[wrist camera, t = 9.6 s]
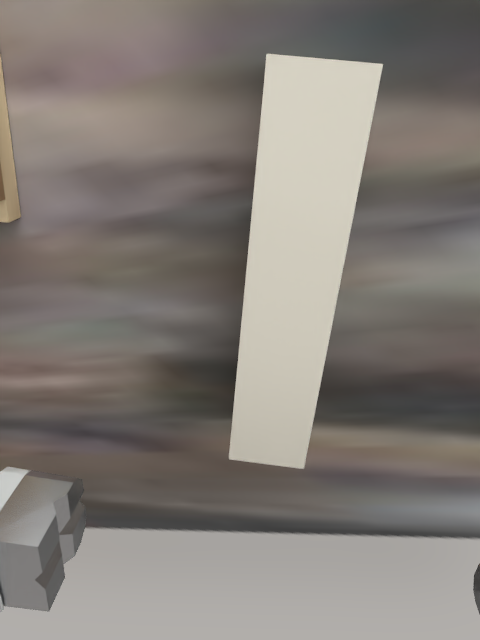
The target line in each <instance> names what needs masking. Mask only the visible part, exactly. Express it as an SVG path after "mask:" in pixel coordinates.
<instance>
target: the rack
mask: <svg viewBox="0 0 480 640" xmlns="http://www.w3.org/2000/svg"><path fill="white" fill-rule="evenodd" d="M20 217H21V213H20V205H19V198H18V190H17V182H16V174H15V166H14V158H13V150H12V142H11V134H10V126H9V118H8V110H7V102H6V95H5V87H4V79H3V71H2V63H1V55H0V222H7V223H9V222H11V221H14V220H16V219H18V218H20Z"/></svg>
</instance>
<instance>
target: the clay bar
mask: <svg viewBox="0 0 480 640" xmlns="http://www.w3.org/2000/svg"><path fill="white" fill-rule="evenodd" d="M382 67H383V64H376V63H365V62H354V61H342V60H331V59H320V58H309V57H297V56H286V55H275V54H267V56H266V67H265V77H264V88H263V99H262V109H261V120H260V131H259V141H258V152H257V163H256V173H255V184H254V195H253V205H252V216H251V227H250V237H249V248H248V259H247V269H246V280H245V291H244V301H243V312H242V323H241V333H240V344H239V355H238V365H237V376H236V387H235V397H234V408H233V419H232V429H231V440H230V450H229V459H231V460H239V461H247V462H254V463H262V464H269V465H277V466H285V467H292V468H300V469H304V465H305V460H306V455H307V450H308V445H309V440H310V435H311V430H312V424H313V419H314V414H315V409H316V404H317V399H318V394H319V389H320V384H321V379H322V373H323V368H324V363H325V358H326V353H327V348H328V343H329V338H330V333H331V327H332V322H333V317H334V312H335V307H336V302H337V297H338V292H339V287H340V282H341V276H342V271H343V266H344V261H345V256H346V251H347V246H348V241H349V236H350V231H351V225H352V220H353V215H354V210H355V205H356V200H357V195H358V190H359V185H360V180H361V174H362V169H363V164H364V159H365V154H366V149H367V144H368V139H369V134H370V128H371V123H372V118H373V113H374V108H375V103H376V98H377V93H378V88H379V83H380V77H381V72H382Z"/></svg>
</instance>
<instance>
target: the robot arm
mask: <svg viewBox="0 0 480 640" xmlns="http://www.w3.org/2000/svg"><path fill="white" fill-rule="evenodd" d="M83 492H84V488H83V481H82V479H79V478H75V477H69V476H63V475H57V474H51V473H45V472H39V471H33V470H26V469H19V468H13V467H6V468H5V469H3V470H2V471H0V612H1V611H2V610H3V609H4V606H8V607H16V608H17V607H18V608H25V609H33V610H41V611H49V610H50V608H51V606H52V604H53V602H54V600H55V597H56V595H57V593H58V591H59V589H60V586H61V585H62V582H63V580H64V578H65V574H64V567H63V564H64V563H66V562H67V561H68V560H70V559H71V558H73V557H74V556H75V554H76V552H77V550H78V547H79V545H80V543H81V540H82V536H83V532H84V529H85V522H86V508H85V506H84V505H83V504H82V503H81V502H80V498H81V496H82V494H83ZM473 590H474V596H475V601H476V605H477V608H478V610H479V614H480V564H479V565H478V568H477V570H476V572H475V575H474V589H473Z"/></svg>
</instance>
